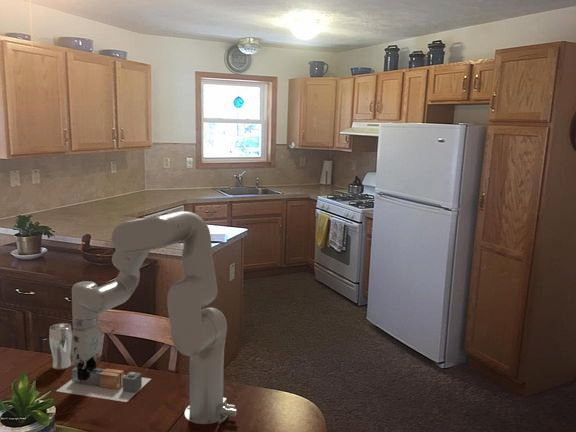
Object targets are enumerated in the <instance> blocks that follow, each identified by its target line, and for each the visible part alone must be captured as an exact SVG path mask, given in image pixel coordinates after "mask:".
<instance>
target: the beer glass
mask: <svg viewBox="0 0 576 432" xmlns="http://www.w3.org/2000/svg"><path fill="white" fill-rule="evenodd" d="M72 331H73V330H72V324H70V323H68V322H67V323H66V322H65V323H64V322H60V323H56V324H55V323H54V324H53V325H50V327H49V332H48V333H49V338H48V339H49V347H50V351H51V356H52V368H53V369H54V370H64V369H68V368H70V367H72V365H71V362H72V360H71V340H72Z"/></svg>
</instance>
